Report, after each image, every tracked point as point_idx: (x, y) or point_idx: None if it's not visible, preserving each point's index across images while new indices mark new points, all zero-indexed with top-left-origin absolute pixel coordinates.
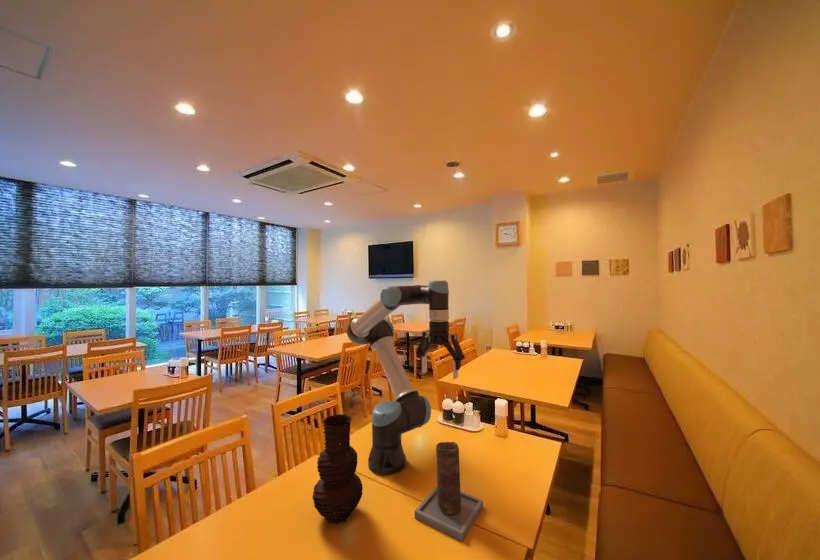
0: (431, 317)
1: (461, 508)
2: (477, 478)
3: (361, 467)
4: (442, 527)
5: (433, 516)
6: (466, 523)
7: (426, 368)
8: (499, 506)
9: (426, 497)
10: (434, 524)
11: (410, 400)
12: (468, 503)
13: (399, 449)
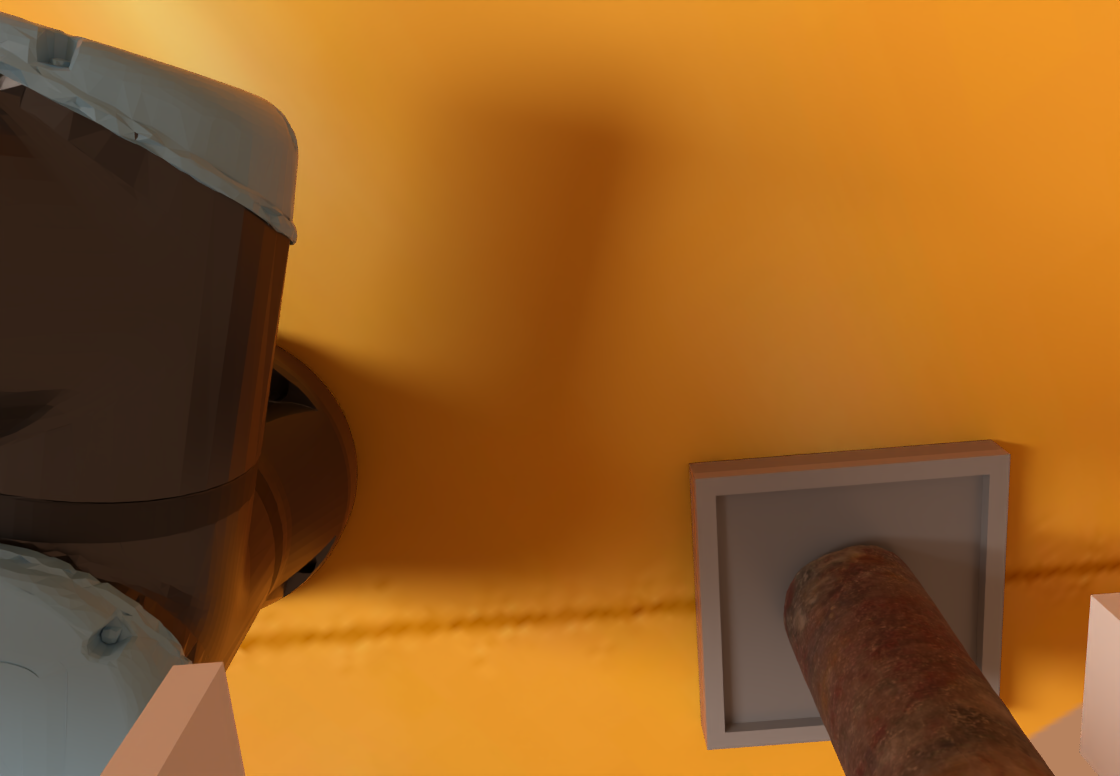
0: None
1: (909, 565)
2: (854, 201)
3: None
4: None
5: (803, 700)
6: (992, 663)
7: (194, 750)
8: (1074, 372)
9: (703, 635)
10: None
11: (45, 384)
12: (927, 506)
13: (290, 502)
